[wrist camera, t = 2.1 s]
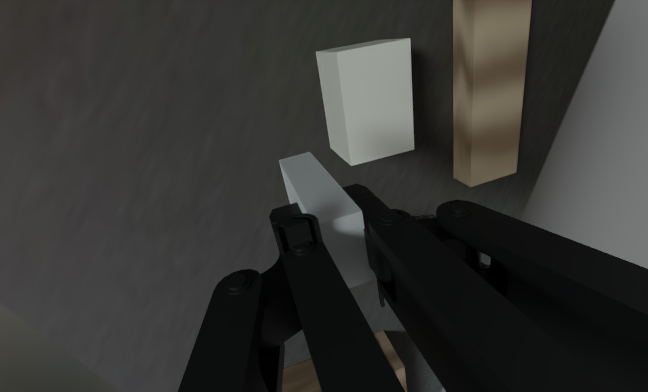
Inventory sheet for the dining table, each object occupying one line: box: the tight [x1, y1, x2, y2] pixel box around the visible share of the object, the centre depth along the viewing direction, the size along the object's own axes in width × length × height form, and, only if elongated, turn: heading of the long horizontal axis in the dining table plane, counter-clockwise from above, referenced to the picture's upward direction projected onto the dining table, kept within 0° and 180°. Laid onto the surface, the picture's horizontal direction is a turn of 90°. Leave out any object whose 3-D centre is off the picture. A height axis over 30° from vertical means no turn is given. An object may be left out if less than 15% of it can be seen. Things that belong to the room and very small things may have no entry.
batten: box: [453, 0, 532, 187], centre depth 33 cm, size 24×6×3 cm, turn 11°
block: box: [316, 38, 414, 166], centre depth 29 cm, size 9×6×6 cm, turn 10°
